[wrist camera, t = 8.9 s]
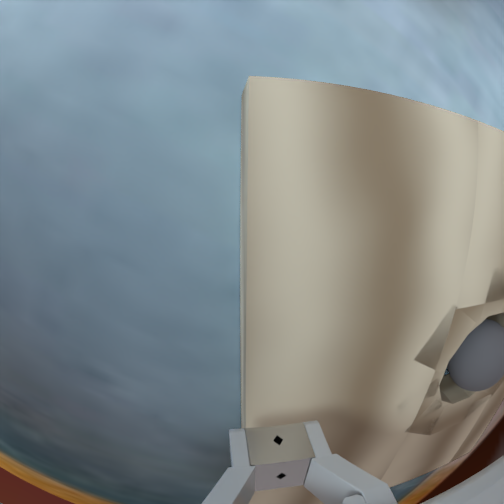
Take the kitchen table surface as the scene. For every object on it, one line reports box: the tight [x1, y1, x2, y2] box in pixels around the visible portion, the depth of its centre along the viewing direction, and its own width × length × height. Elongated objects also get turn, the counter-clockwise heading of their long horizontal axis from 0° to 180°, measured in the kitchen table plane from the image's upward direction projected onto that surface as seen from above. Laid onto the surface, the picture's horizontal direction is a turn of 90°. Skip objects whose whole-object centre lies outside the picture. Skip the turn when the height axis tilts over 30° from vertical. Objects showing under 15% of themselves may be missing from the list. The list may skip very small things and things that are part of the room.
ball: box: [447, 319, 504, 392], centre depth 12 cm, size 4×4×4 cm
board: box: [240, 76, 504, 504], centre depth 13 cm, size 18×22×2 cm
